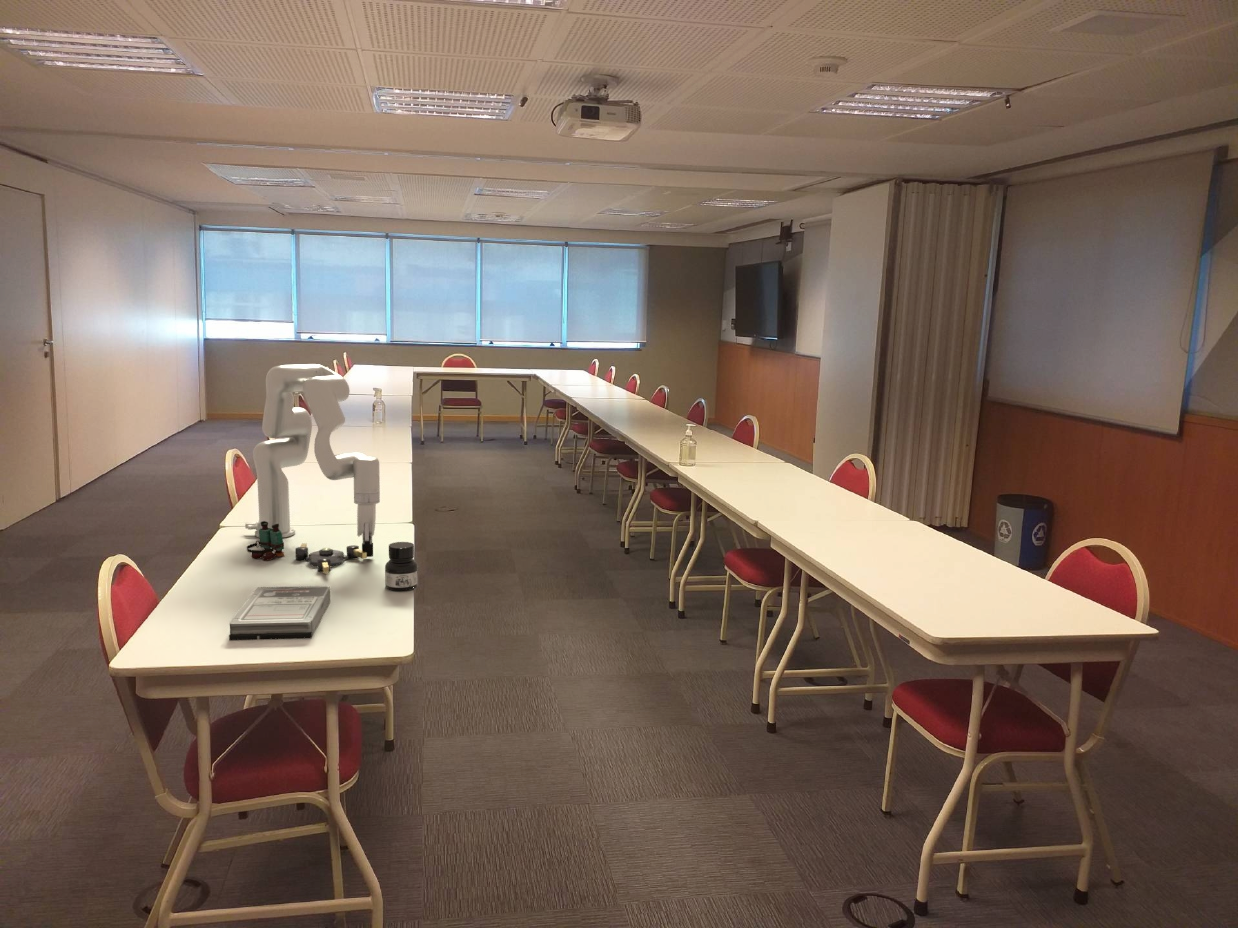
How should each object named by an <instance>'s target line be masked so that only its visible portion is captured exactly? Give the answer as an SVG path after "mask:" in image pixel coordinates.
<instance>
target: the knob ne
mask: <svg viewBox="0 0 1238 928" xmlns="http://www.w3.org/2000/svg"><path fill="white" fill-rule="evenodd" d="M346 555H347V556H348V559H349V560H356V559H359V558H360V559H361V560H365V559H367V558H368V557H367V552H364V551H362V549H360V547H359V545H356V544H355V545H346ZM348 559H347V560H348Z"/></svg>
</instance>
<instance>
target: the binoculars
mask: <svg viewBox="0 0 1238 928" xmlns="http://www.w3.org/2000/svg"><path fill="white" fill-rule="evenodd" d="M261 526H262V528H261V529H259V537H258V539H259V540H256V541H255V542H253V543H251V544H248V545H247V546H246V551H247V552H248V553H251V558H252V559H254V560H259V559H262V560H263V561H264V562H266V561H267V562H268V561H271V560H273V559H275V557H278V558H280V557H285V552H284V551H283V550H284V549H285V543H284V540H283V538H282V533H281V530H279V528H278V527H279V524H275V525H272V528H273V529H272V528H268V522H266V521H262V522H261ZM255 547H256V548H259V547H260V548H261V549H251V548H255Z"/></svg>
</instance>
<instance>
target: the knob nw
mask: <svg viewBox="0 0 1238 928" xmlns="http://www.w3.org/2000/svg"><path fill="white" fill-rule="evenodd" d="M307 544H308V543H306V542H305V543H301V544H300V546H298V547H296V548H295V560H296V561H299V562H301V561H302V562H304V561H306V557H308V556H309V548H308V546H307Z"/></svg>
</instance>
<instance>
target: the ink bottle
mask: <svg viewBox="0 0 1238 928" xmlns="http://www.w3.org/2000/svg"><path fill="white" fill-rule="evenodd" d="M388 559H389V560H388V561H386V563H385V565H384V573H385V574H384V575H385V576H384V578H385V581H384V583H385V588H386V589H388V591H395V592H403V591H405V592H406V591H411V590H414V589H416V588H417V587H418V586H419V564H418V562H417V561H416V560H415V544H414V543H413V542H409V541H396V542H392V543H389V544H388ZM413 587H414V589H413Z"/></svg>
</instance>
